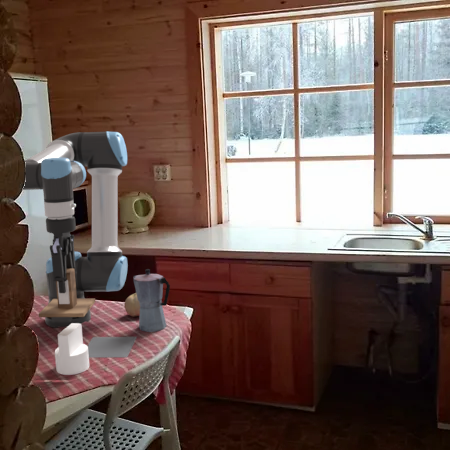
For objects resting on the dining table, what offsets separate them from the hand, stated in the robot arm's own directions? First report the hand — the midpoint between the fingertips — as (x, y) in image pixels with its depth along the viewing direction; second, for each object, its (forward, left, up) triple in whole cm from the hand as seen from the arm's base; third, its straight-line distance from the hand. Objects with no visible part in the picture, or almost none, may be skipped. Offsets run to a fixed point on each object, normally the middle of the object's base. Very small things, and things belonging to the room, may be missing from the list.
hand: (67, 300), depth 160 cm
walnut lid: (0, 0, -3) cm, 3 cm away
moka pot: (-30, +18, -21) cm, 41 cm away
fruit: (-42, +10, -21) cm, 48 cm away
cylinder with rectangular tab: (0, 0, -21) cm, 21 cm away
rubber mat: (-14, +7, -20) cm, 26 cm away
